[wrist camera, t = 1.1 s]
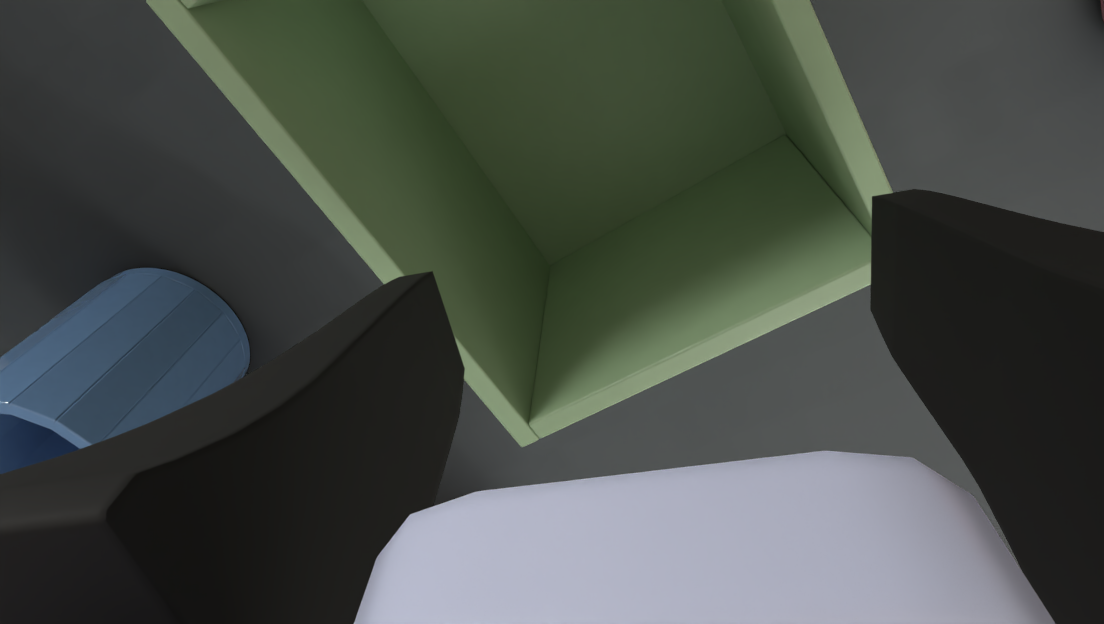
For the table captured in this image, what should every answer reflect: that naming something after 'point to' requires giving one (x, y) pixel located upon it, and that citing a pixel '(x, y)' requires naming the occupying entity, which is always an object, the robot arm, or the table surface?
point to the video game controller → (1102, 8)
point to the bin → (566, 171)
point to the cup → (116, 364)
